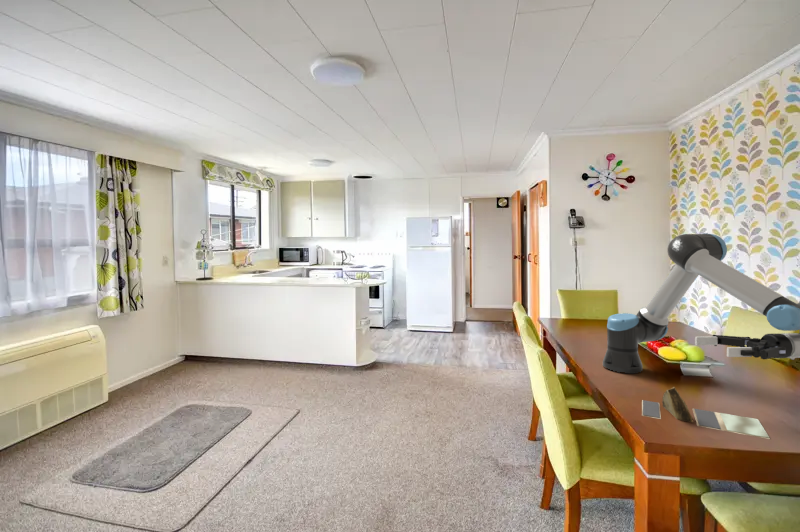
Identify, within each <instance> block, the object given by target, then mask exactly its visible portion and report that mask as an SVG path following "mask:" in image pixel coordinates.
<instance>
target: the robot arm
mask: <svg viewBox="0 0 800 532" xmlns="http://www.w3.org/2000/svg"><path fill="white" fill-rule="evenodd" d="M727 253H728V247H727V244H726V241H725V240H724V239H723V238H722V237H721V236H719V235H717V234H713V233H706V232H705V233H704V232H703V233H683V234H679V235H678V236H675V237H674V238H673V239H672V240H671V241H669V243H668V246H667V255H668V257H669V259H670V260H671V261H672V262H673V263H674V266H673V268H672V269H671V271H670V272H669V274H668V275H667V276H666V278H665V279H664V281H663V282H662V284H661V285H660V286H659V288H658V290H657V291H656V293H655V294H654V296H653V297H652V298H651V300H650V301H649V302H648V304H647V306H642V307H641V308H640V309H639V311H638V312H637V314H634V313H629V312H627V313H626V312H625V313H624V312H623V313H616V314H611V315H609V316H608V318H607V324H606V335H607V336H606V337H607V342H606V344H607V345H606V346H607V347H606V352H605V354H604V357H603V360H602V367H603V366H604V367H606V368H608V369H610V370H609V371H611V370H613V371H612V372H615V371H617V372H616V373H620V372H625V373H624V374H639V373H638V372H640V373H641V371H642V372H643V363H642V360H641V358H640V354H639V344H640V343H648V342H656V341H659V340H661V339H663V338H664V337H665V336H666V335H667V334H668V332H669V327H668V325H669V322H670V320H669V316H670V315H671V313H672V312H673V311H674V309H675V308H676V307H677V305H678V304H679V303H680V301H681V300H682V298H683V297H684V296H685V294H687V292H688V290H689V289H690V288H691V286H692V285H693V283H694V282H695V281H696V279H697V278H698V277H699V276H700V277H702V278H703V279H705V280H707V281H708V282H709V283H711V284H713V285H714V286H716V287H718V288H719V289H721V290H722V291H724V292H725V293H727V294H729V295H731V296H732V297H734V298H736V299H737V300H739V301H740V302H742V303H744V304H745V305H746V306H749V307H750V308H752V309H753V310H755V311H756V312H758V313H760V314H762V315H763V316H765V317H766V320H767V321H768V323H769V325H770V326H772V327H773V328H774V329H776V330H779V331H783V332H784V333H783V332H782V333H765V334H763V336H762V337H761V338H757V337H753V338H751V336H750V337H749V336H735V335H734V336H733V335H721V334H712V336H694V337H695V338H694V345H695V346H714V347H717V346H718V345H723V346H727V347H726V357H728V358H751V357H753V358H756V359H757V358H760V359H761V360H768V359H790V360H795V359H800V332H799V333H797V332H796V333H795V332H794V331H800V300H799V302H798V303H796V302H795V301H793V300H791V299H789V298H787V297H785V296H783V295H782V294H780V293H778V292H776V291H775V290H773V289H771V288H769V287H767V286H766V285H764V284H762V283H761V282H759V281H757V280H755V279H753V278H752V277H750V276H748V275H746V274H745V273H743V272H741V271H739V270H737V269H736V268H734V267H733V266H730V265H729V264H727V263H725V262H724V261H723V260H724V259H725V257H726V256H727ZM788 331H791V333H790V332H788ZM792 331H793V332H792ZM785 332H786V333H785ZM787 332H788V333H787ZM604 367H603V368H604ZM606 368H605V369H606ZM608 369H607V370H608Z"/></svg>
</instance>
